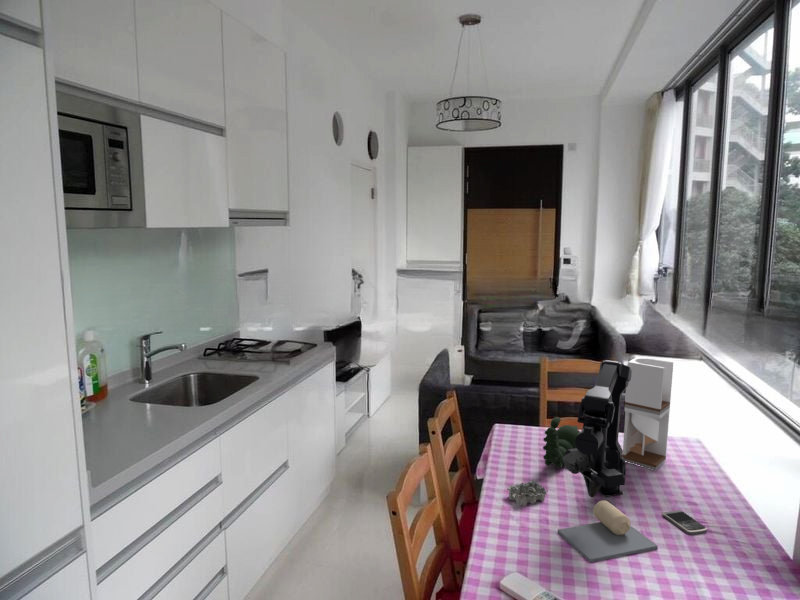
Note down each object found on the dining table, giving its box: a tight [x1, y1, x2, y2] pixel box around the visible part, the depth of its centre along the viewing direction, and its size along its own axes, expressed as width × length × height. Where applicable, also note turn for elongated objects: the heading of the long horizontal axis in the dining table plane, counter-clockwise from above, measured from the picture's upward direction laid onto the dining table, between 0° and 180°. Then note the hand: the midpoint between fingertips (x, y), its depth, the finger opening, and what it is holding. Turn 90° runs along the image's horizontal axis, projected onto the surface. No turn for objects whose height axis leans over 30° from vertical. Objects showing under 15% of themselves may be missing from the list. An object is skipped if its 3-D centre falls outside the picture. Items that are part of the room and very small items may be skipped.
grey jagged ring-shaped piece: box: [506, 479, 549, 506], centre depth 172 cm, size 11×8×4 cm
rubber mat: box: [557, 521, 659, 563], centre depth 150 cm, size 20×14×1 cm
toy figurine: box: [542, 416, 581, 469], centre depth 197 cm, size 9×19×25 cm
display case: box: [622, 356, 674, 471], centre depth 196 cm, size 11×11×35 cm
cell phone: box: [661, 509, 708, 535], centre depth 159 cm, size 6×11×1 cm, turn 15°
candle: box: [592, 500, 631, 535], centre depth 154 cm, size 6×6×10 cm
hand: (591, 496), depth 155 cm, fingers closed
